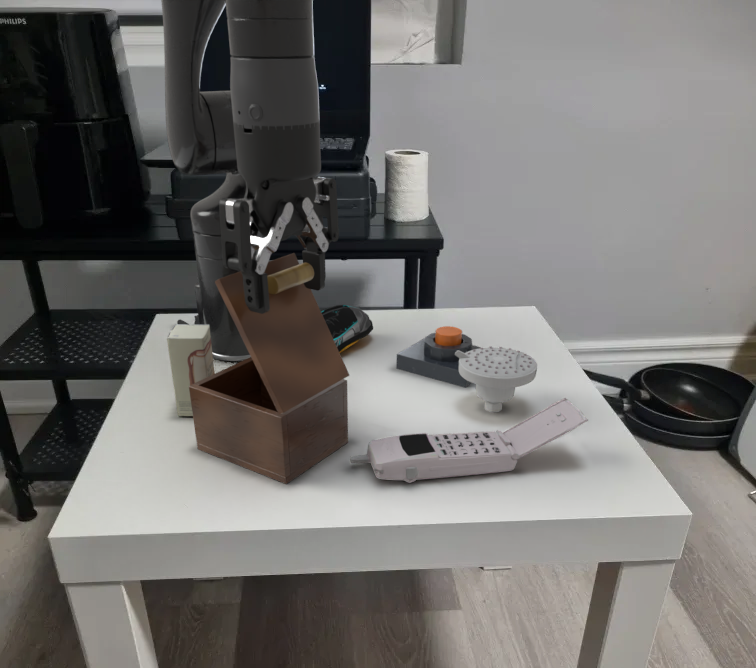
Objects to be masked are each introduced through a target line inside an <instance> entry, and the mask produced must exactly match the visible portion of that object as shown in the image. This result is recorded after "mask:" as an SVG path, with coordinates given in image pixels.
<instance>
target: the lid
mask: <svg viewBox="0 0 756 668" xmlns="http://www.w3.org/2000/svg"><path fill="white" fill-rule="evenodd" d="M264 273H267V278H268V291H269V304H270V310H269V311H268V312H266V313H263V314H261V313H257V312H253V311H250V310H249V308H248V306H247V305H246V303H245V295H244V286H243V276H242V273H241V272H237V273H234V274H232V275H229V276H226V277H223V278H220V279H218V280H216V281H215V283H216V285H217V288H218V290H219V292H220V294H221V296H222V298H223V300H224V302H225V304H226V306H227V308H228V310H229V312H230V314H231V317H232V319H233V321H234V323H235V325H236V327H237V329H238V331H239V333H240V335H241V337H242V339H243V341H244V343H245V345H246V348H247V350H248V352H249V354H250V356H251V358H252V360H253V362H254V364H255V366H256V368H257V370H258V372H259V374H260V377H261V379H262V381H263V383H264V385H265V387H266V389H267V391H268V393H269V395H270V397H271V399H272V401H273V403H274V405H275V408H276V410H277V412H278V414H282V413H284V412H286V411H288V410H290V409H291V408H293V407H295V406H297V405H298V404H300V403H302V402H304V401H305V400H307V399H309V398H311V397H312V396H314V395H316V394H318V393H319V392H321V391H323V390H325V389H327V388H328V387H330V386H332V385H334V384H335V383H337V382H339V381H341V380H342V379H346V378H348V377H350V373H349V371H348V368H347V367H346V364H345V362H344V360H343V357H342V355H341V353H339V351H338V349H337V346H336V344H335V342H334V340H333V338H332V335H331V333H330V331H329V329H328V326H327V324H326V322H325V320H324V318H323V315H322V313H321V311H320V310H321V309H320V306H319V304H318V302H317V300H316V298H315V296H314V294H313V291H312V289H308V288H306V287H305V285H304V283H305V282H308V281H310V280H312V279H313V277H314V270H313V267H312V266H311V265H310V264H309V263H306V262H304V263H303V262H301V263H300V262H299V260H298V258H297V255H296V253H295V252H293V253H289V254H287V255H283V256H281V257H278V258H275V259H272V260H269V261H268V264H267V267H266V270H265V272H264Z"/></svg>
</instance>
